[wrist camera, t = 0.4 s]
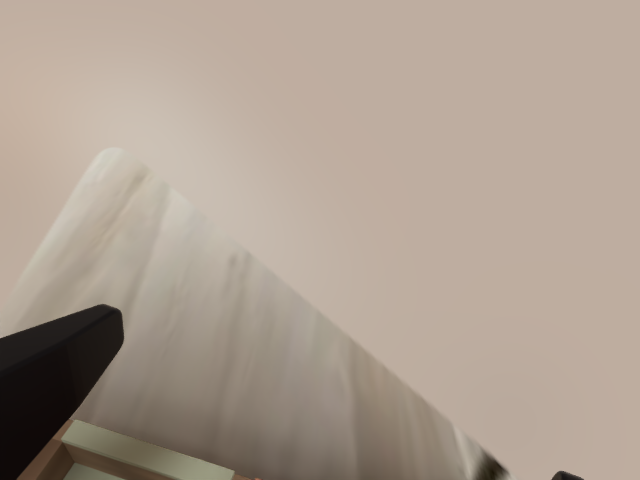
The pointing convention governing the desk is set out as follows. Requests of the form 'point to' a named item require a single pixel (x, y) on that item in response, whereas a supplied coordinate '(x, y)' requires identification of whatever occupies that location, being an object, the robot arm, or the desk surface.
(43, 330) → the robot arm
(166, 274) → the desk surface
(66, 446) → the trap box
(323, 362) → the desk surface
